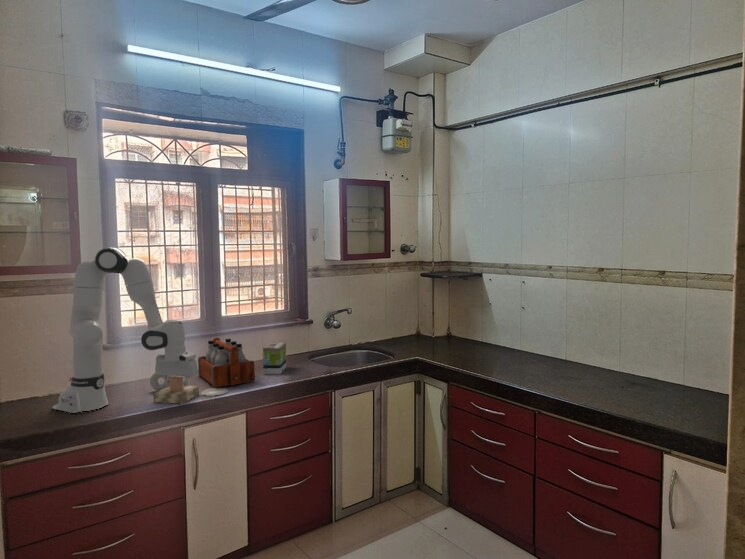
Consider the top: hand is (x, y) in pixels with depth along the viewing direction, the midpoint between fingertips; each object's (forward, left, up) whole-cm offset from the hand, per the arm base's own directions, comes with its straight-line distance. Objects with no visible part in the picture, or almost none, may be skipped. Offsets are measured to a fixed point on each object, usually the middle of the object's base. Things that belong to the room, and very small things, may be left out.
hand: (176, 384), depth 231 cm
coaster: (+12, +12, -6) cm, 18 cm away
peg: (0, 0, -6) cm, 6 cm away
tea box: (+23, +55, -7) cm, 60 cm away
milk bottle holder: (+5, +34, -6) cm, 35 cm away
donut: (-15, +9, -7) cm, 19 cm away
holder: (0, 0, -6) cm, 6 cm away
